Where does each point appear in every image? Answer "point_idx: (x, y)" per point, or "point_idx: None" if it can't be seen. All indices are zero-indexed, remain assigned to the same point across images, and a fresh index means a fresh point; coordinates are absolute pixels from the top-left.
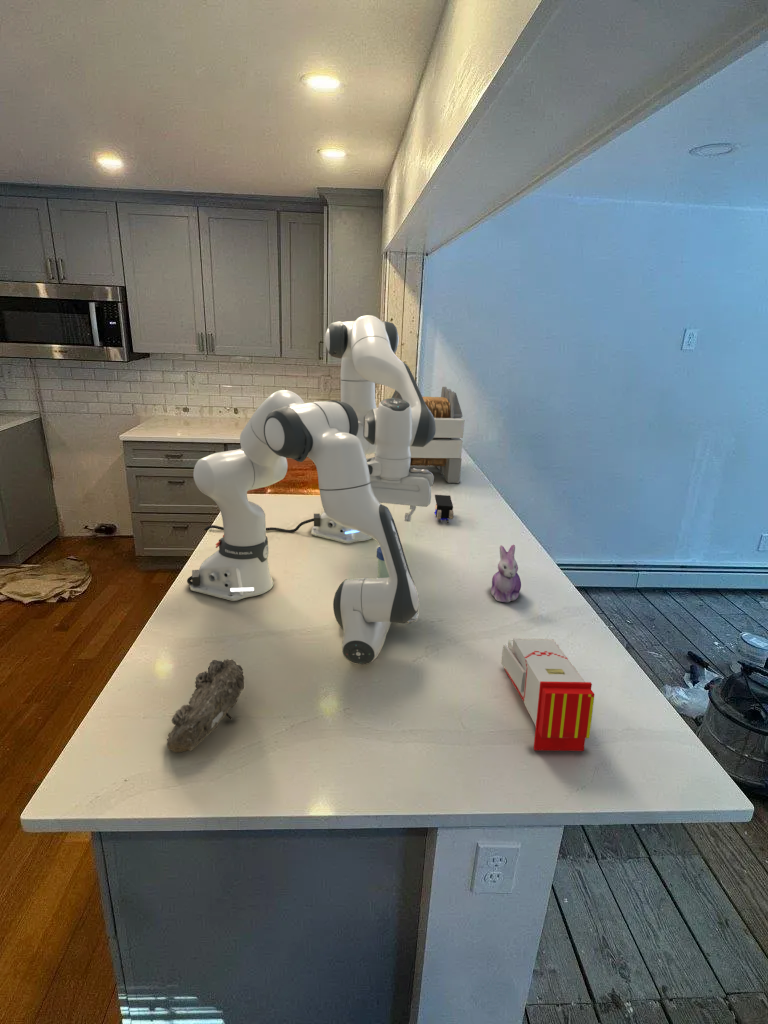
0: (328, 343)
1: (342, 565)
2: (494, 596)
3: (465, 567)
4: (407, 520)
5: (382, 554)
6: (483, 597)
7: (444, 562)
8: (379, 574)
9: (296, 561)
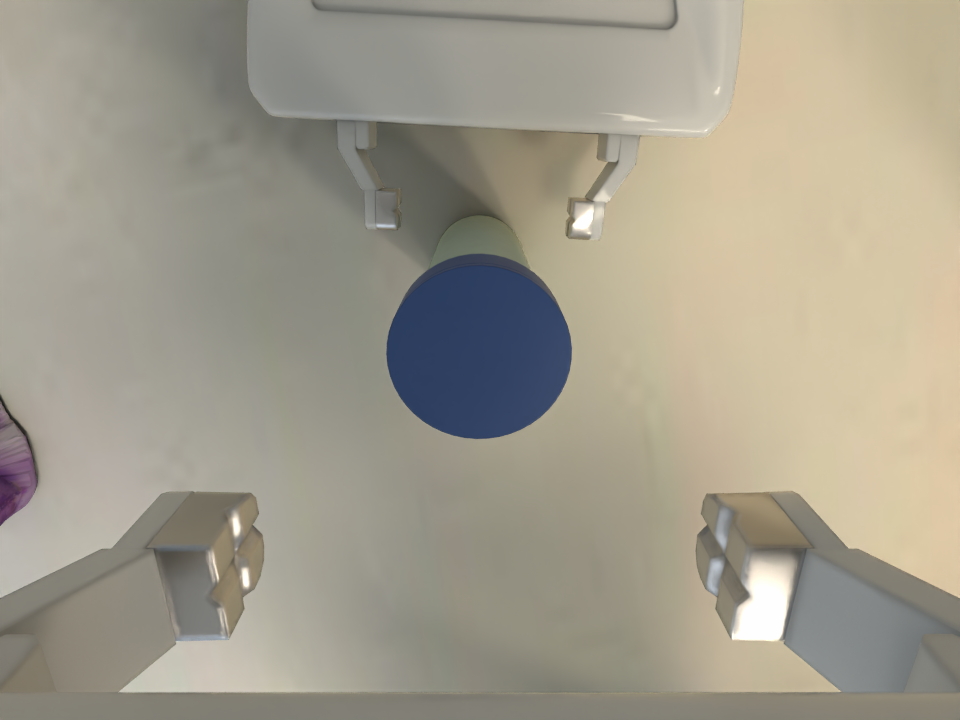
0: None
1: None
2: (6, 418)
3: None
4: (200, 493)
5: (513, 270)
6: (59, 411)
7: (285, 660)
8: (521, 260)
9: (920, 552)
